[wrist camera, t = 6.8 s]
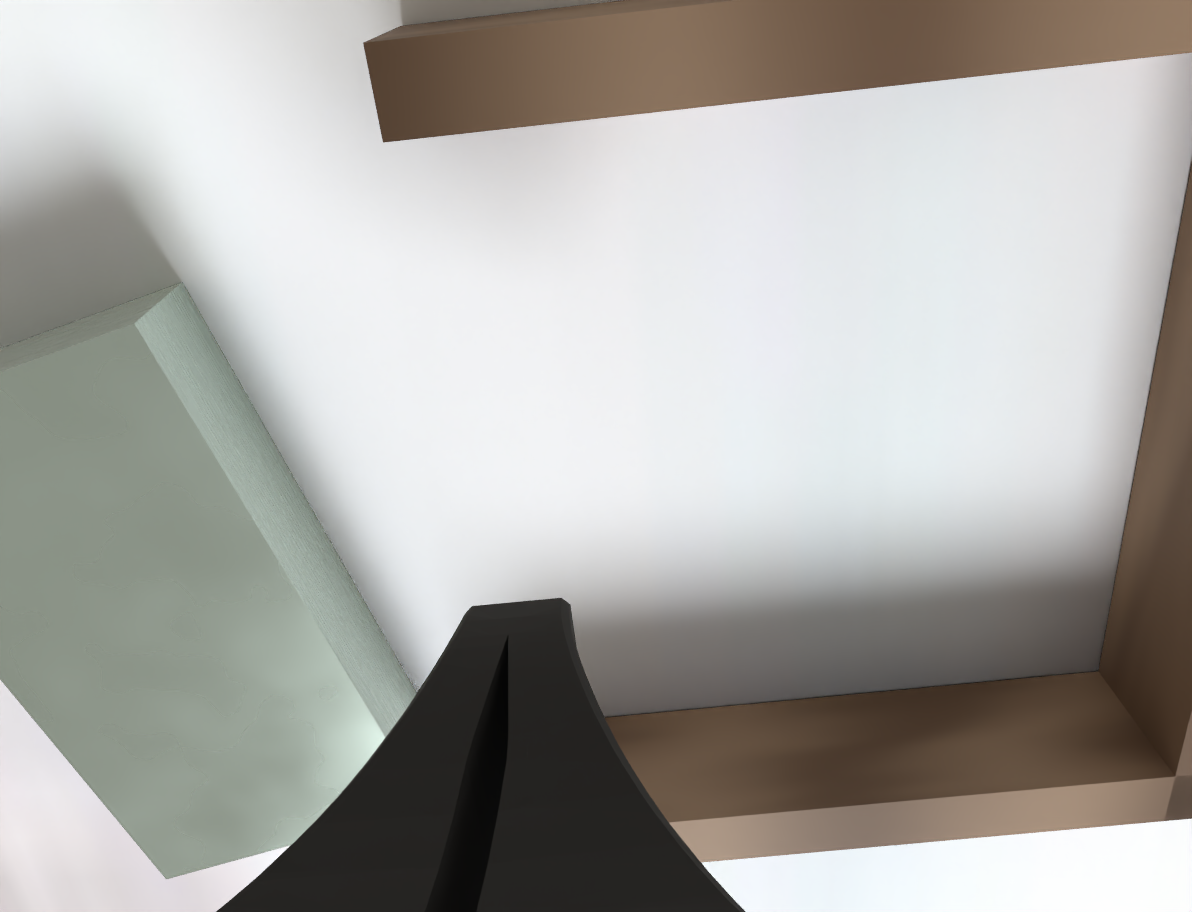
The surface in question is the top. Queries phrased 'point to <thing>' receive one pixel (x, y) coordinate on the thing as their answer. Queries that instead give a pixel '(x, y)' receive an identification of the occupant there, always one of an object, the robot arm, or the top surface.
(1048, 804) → the walnut box
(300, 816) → the cover plate
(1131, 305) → the top surface
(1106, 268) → the top surface
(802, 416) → the top surface
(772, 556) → the top surface
